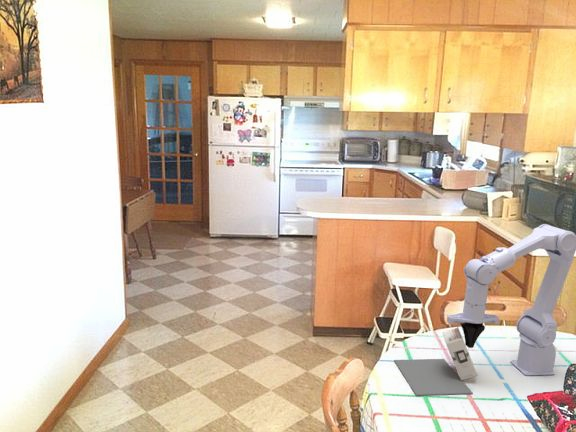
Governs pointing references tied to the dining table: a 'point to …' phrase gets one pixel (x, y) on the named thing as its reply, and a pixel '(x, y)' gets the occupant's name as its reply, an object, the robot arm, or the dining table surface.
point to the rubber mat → (432, 377)
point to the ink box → (459, 353)
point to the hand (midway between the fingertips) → (469, 346)
